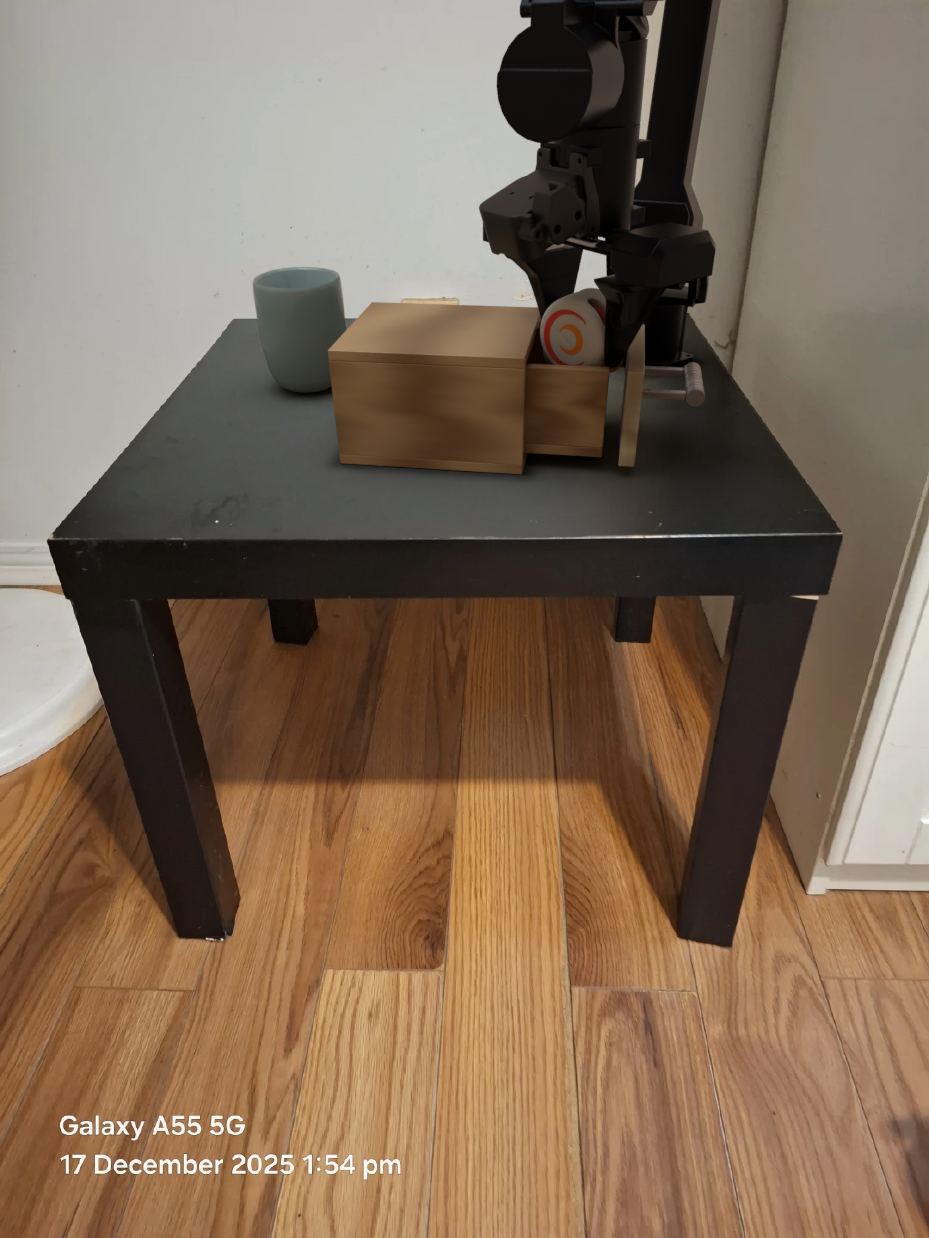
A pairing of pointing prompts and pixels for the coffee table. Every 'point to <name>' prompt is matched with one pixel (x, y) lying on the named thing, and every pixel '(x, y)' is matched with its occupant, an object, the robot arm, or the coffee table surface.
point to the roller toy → (575, 330)
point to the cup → (299, 324)
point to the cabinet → (433, 386)
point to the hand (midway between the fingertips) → (582, 356)
